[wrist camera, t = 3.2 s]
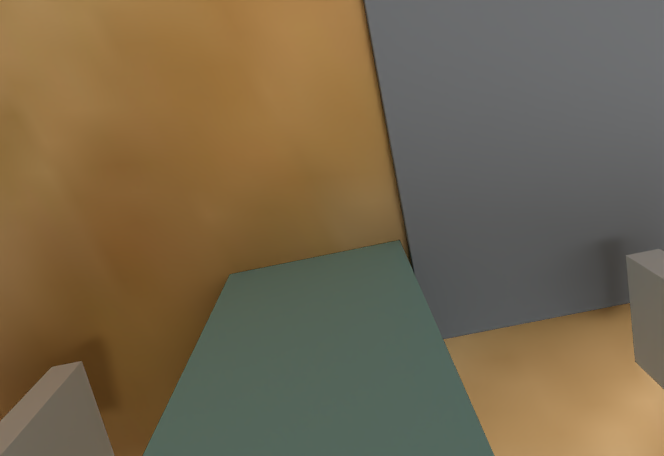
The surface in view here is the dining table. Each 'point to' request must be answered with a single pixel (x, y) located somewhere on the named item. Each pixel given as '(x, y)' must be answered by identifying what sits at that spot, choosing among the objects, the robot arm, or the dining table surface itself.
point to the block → (321, 367)
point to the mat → (523, 150)
